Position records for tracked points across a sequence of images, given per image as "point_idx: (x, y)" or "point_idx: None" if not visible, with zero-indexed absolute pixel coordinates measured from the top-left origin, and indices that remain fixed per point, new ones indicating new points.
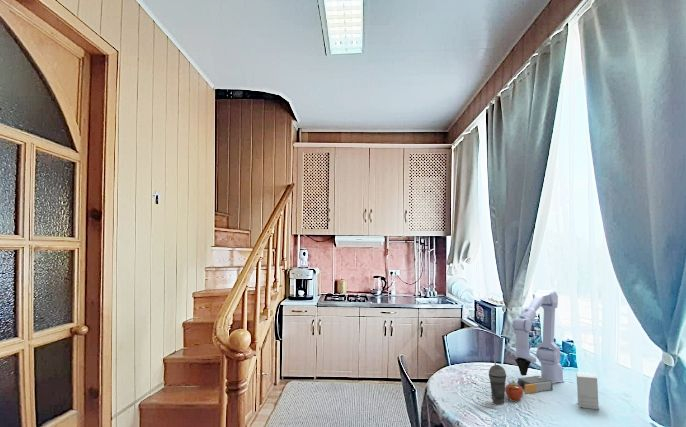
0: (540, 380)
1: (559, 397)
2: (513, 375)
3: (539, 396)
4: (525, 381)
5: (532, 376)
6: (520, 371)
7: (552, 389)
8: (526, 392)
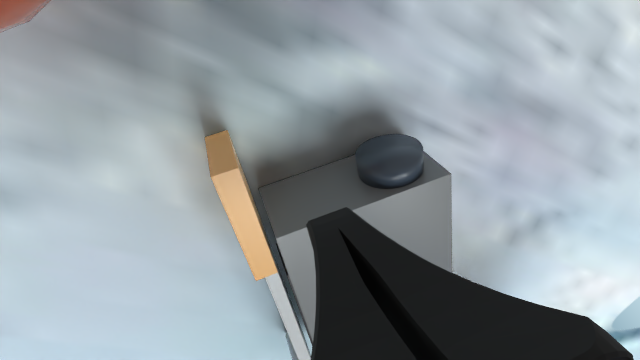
0: None
1: (119, 347)
2: (615, 190)
3: (134, 224)
4: None
5: None
6: (360, 234)
7: (286, 338)
8: (205, 141)
